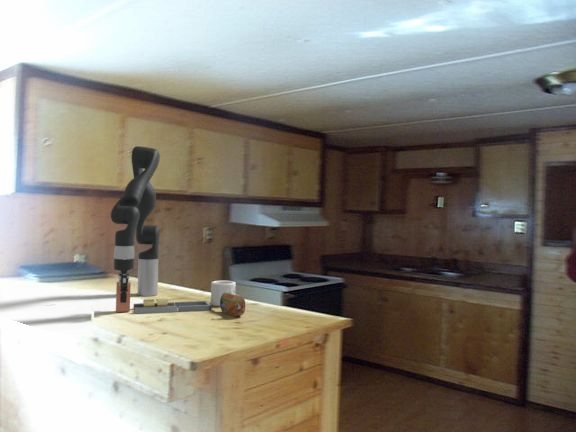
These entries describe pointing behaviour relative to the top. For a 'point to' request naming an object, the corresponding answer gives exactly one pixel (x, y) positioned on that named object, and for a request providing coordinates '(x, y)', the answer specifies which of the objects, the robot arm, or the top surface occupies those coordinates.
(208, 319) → the top surface
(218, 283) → the mug
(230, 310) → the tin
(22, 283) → the top surface
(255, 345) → the top surface
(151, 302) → the tan cubic piece
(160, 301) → the khaki cube
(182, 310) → the tray
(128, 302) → the pink rectangular block
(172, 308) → the slot bed
